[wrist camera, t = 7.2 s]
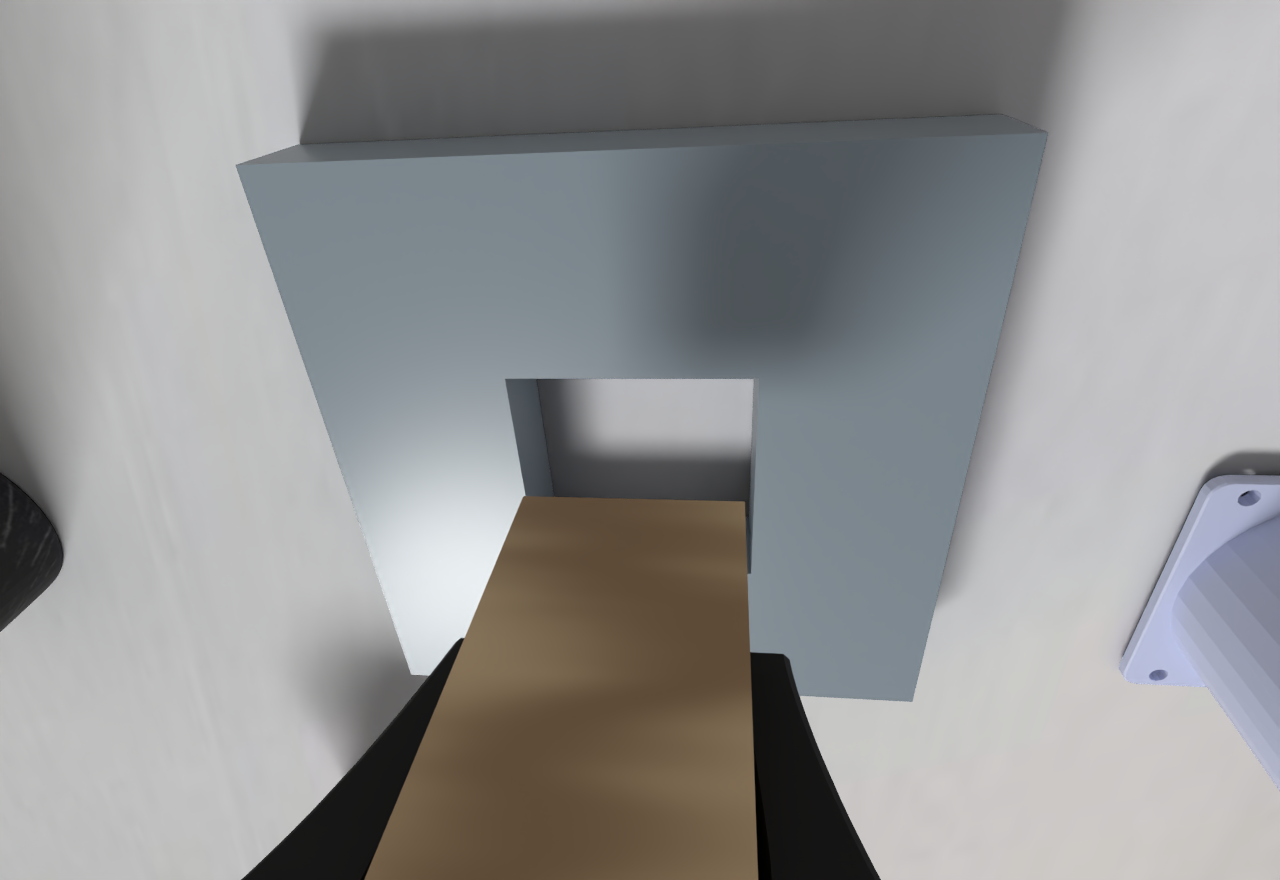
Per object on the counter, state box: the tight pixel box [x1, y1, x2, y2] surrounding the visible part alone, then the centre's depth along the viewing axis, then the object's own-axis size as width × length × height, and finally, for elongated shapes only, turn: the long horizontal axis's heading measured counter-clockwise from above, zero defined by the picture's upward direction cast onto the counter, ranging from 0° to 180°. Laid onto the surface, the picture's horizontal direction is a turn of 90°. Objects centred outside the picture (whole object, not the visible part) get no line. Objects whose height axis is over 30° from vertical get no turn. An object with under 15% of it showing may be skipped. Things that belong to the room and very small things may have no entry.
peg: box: [364, 496, 758, 880], centre depth 10 cm, size 4×4×8 cm
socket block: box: [236, 114, 1048, 702], centre depth 19 cm, size 16×16×2 cm
